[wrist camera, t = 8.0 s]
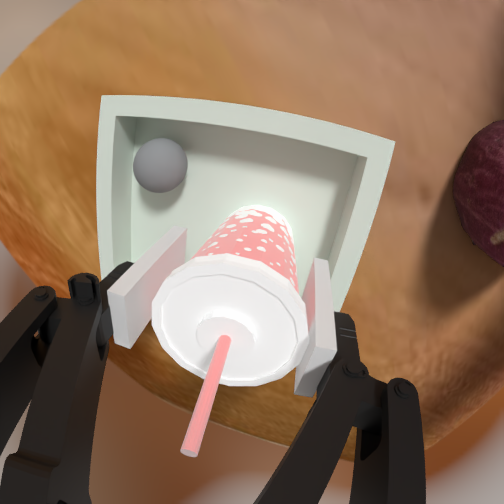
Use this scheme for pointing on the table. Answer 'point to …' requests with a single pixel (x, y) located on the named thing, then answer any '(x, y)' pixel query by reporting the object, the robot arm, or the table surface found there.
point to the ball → (160, 165)
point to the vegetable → (483, 190)
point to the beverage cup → (234, 310)
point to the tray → (239, 180)
